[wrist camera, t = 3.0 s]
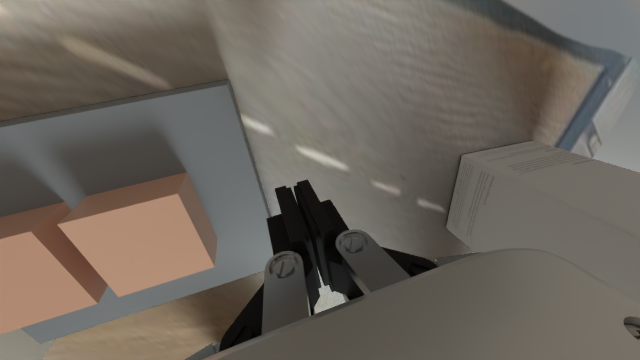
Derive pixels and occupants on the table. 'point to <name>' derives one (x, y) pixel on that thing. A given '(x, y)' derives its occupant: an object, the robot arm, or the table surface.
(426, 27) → the table surface
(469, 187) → the supplement box
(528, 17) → the table surface
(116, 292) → the tile
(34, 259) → the tile
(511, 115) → the table surface
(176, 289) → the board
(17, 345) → the tray
